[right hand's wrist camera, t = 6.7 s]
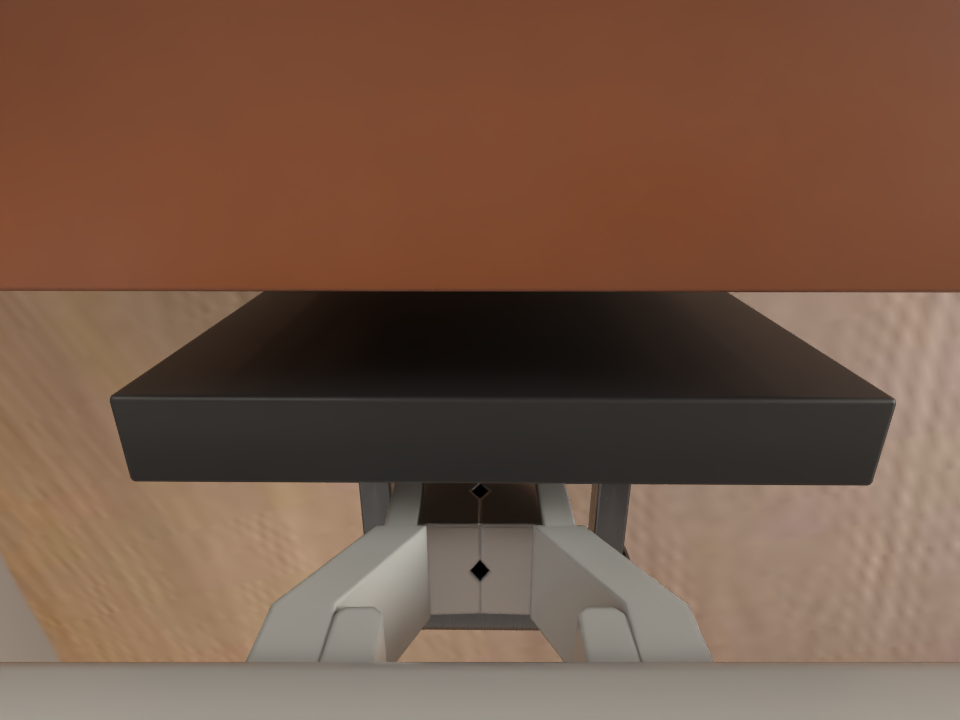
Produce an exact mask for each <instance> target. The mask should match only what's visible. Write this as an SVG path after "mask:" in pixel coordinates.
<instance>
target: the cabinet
mask: <svg viewBox="0 0 960 720" xmlns="http://www.w3.org/2000/svg"><path fill="white" fill-rule="evenodd" d="M0 291H430V292H960V0H0Z"/></svg>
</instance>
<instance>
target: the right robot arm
mask: <svg viewBox="0 0 960 720" xmlns="http://www.w3.org/2000/svg"><path fill="white" fill-rule="evenodd" d="M474 613H484V614H520V615H530V618H531V619H532V621H533V622H534V623H535V625H536V626H537V627H538V629H539V630H540V631H541V632H542V634H543V635H544V636H545V638H546V639H547V640H548V642H549V643H550V644H551V646H552V647H553V648H554V650H555V651H556V652H557V654H558V655H559V656H560V657H561V659H562V660H563V661H564V662H397V660H398V659H399V658H400V657H401V655H402V654H403V653H404V651H405V650H406V649H407V647H408V646H409V645H410V643H411V642H412V641H413V640H414V638H415V637H416V636H417V634H418V633H419V632H420V630H421V629H422V628H423V626H424V625H425V624H426V623H427V621H428V620H429V619H430V615H440V614H474ZM0 720H960V662H714V660H713V658H712V656H711V653H710V651H709V649H708V647H707V644H706V642H705V640H704V638H703V636H702V633H701V631H700V629H699V627H698V624H697V622H696V620H695V618H694V615H693V613H692V611H691V609H690V607H689V605H688V604H687V603H685V602H684V601H683V600H681V599H680V598H679V597H677V596H676V595H675V594H673V593H672V592H671V591H669V590H668V589H667V588H666V587H664V586H663V585H662V584H660V583H659V582H658V581H656V580H655V579H654V578H652V577H651V576H650V575H648V574H647V573H646V572H644V571H643V570H642V569H640V568H639V567H638V566H637V565H635V564H634V563H633V562H631V561H630V560H629V559H627V558H626V557H625V556H623V555H622V554H621V553H619V552H618V551H617V550H615V549H614V548H613V547H611V546H610V545H609V544H607V543H606V542H605V541H604V540H602V539H601V538H600V537H598V536H597V535H596V534H594V533H593V532H592V531H590V530H589V529H588V528H586V527H585V526H583V525H576V524H575V520H574V516H573V512H572V509H571V505H570V501H569V497H568V493H567V489H566V485H565V484H527V483H395V484H394V488H393V492H392V496H391V500H390V504H389V508H388V512H387V516H386V520H385V524H384V525H377V526H375V527H374V528H372V529H371V530H370V531H368V532H367V533H366V534H364V535H363V536H362V537H360V538H359V539H358V540H356V541H355V542H354V543H352V544H351V545H350V546H348V547H347V548H346V549H344V550H343V551H342V552H341V553H339V554H338V555H337V556H335V557H334V558H333V559H331V560H330V561H329V562H327V563H326V564H325V565H323V566H322V567H321V568H319V569H318V570H317V571H315V572H314V573H313V574H311V575H310V576H309V577H307V578H306V579H305V580H303V581H302V582H301V583H299V584H298V585H297V586H295V587H294V588H293V589H291V590H290V591H289V592H287V593H286V594H285V595H284V596H282V597H281V598H280V599H278V600H277V601H276V602H274V603H273V604H272V605H271V607H270V609H269V612H268V614H267V616H266V618H265V620H264V623H263V625H262V627H261V629H260V631H259V634H258V636H257V638H256V640H255V642H254V645H253V647H252V649H251V651H250V653H249V656H248V658H247V660H246V662H0Z"/></svg>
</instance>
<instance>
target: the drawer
mask: <svg viewBox="0 0 960 720" xmlns="http://www.w3.org/2000/svg"><path fill="white" fill-rule="evenodd" d="M110 404H111V407H112V411H113V415H114V418H115V422H116V426H117V429H118V433H119V437H120V440H121V444H122V448H123V451H124V455H125V459H126V462H127V466H128V470H129V474H130V477H131V479H132V480H133V481H168V482H348V483H359V490H360V500H361V511H362V521H363V531H364V534H366V533H367V532H368V531H370V530H371V529H372V528H374V527H375V526H377V525H384V524H385V520H386V516H387V512H388V508H389V504H390V500H391V496H392V492H393V488H394V484H395V483H527V484H592V492H591V504H590V515H589V527H588V529H589V530H590V531H592V532H593V533H594V534H596V535H597V536H598V537H600V538H601V539H602V540H604V541H605V542H606V543H607V544H609V545H610V546H611V547H613V548H614V549H615V550H617V551H618V552H619V553H621V554H622V555H623V556H625V557H626V558H627V559H629V560H630V558H629V555H628V553H627V550H626V548H625V546H624V540H625V531H626V523H627V514H628V506H629V497H630V488H631V484H707V485H870V484H871V483H872V481H873V478H874V475H875V471H876V468H877V465H878V462H879V458H880V455H881V452H882V448H883V445H884V442H885V439H886V435H887V432H888V429H889V425H890V422H891V419H892V415H893V412H894V409H895V406H896V401H895V399H894V398H892V397H891V396H889V395H888V394H886V393H885V392H883V391H881V390H880V389H878V388H877V387H875V386H874V385H872V384H870V383H869V382H867V381H866V380H864V379H863V378H861V377H859V376H858V375H856V374H855V373H853V372H852V371H850V370H848V369H847V368H845V367H844V366H842V365H841V364H839V363H837V362H836V361H834V360H833V359H831V358H830V357H828V356H826V355H825V354H823V353H822V352H820V351H819V350H817V349H815V348H814V347H812V346H811V345H809V344H808V343H806V342H805V341H803V340H801V339H800V338H798V337H797V336H795V335H794V334H792V333H790V332H789V331H787V330H786V329H784V328H783V327H781V326H779V325H778V324H776V323H775V322H773V321H772V320H770V319H768V318H767V317H765V316H764V315H762V314H761V313H759V312H757V311H756V310H754V309H753V308H751V307H750V306H748V305H746V304H745V303H743V302H742V301H740V300H739V299H737V298H735V297H734V296H732V295H731V294H729V293H728V292H430V291H264V292H262V293H261V294H259V295H258V296H257V297H255V298H254V299H252V300H251V301H249V302H248V303H246V304H245V305H243V306H242V307H240V308H239V309H238V310H236V311H235V312H233V313H232V314H230V315H229V316H227V317H226V318H224V319H223V320H221V321H220V322H218V323H217V324H216V325H214V326H213V327H211V328H210V329H208V330H207V331H205V332H204V333H202V334H201V335H199V336H198V337H197V338H195V339H194V340H192V341H191V342H189V343H188V344H186V345H185V346H183V347H182V348H180V349H179V350H178V351H176V352H175V353H173V354H172V355H170V356H169V357H167V358H166V359H164V360H163V361H161V362H160V363H158V364H157V365H156V366H154V367H153V368H151V369H150V370H148V371H147V372H145V373H144V374H142V375H141V376H139V377H138V378H137V379H135V380H134V381H132V382H131V383H129V384H128V385H126V386H125V387H123V388H122V389H120V390H119V391H117V392H116V393H115V394H113V395H112V396H111V397H110ZM422 629H432V630H539V629H538V627H537V626H536V625H535V623H534V622H533V621H532V619H531V618H530V615H520V614H484V613H474V614H440V615H430V619H429V620H428V621H427V623H426V624H425V625H424V626H423V628H422Z"/></svg>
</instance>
